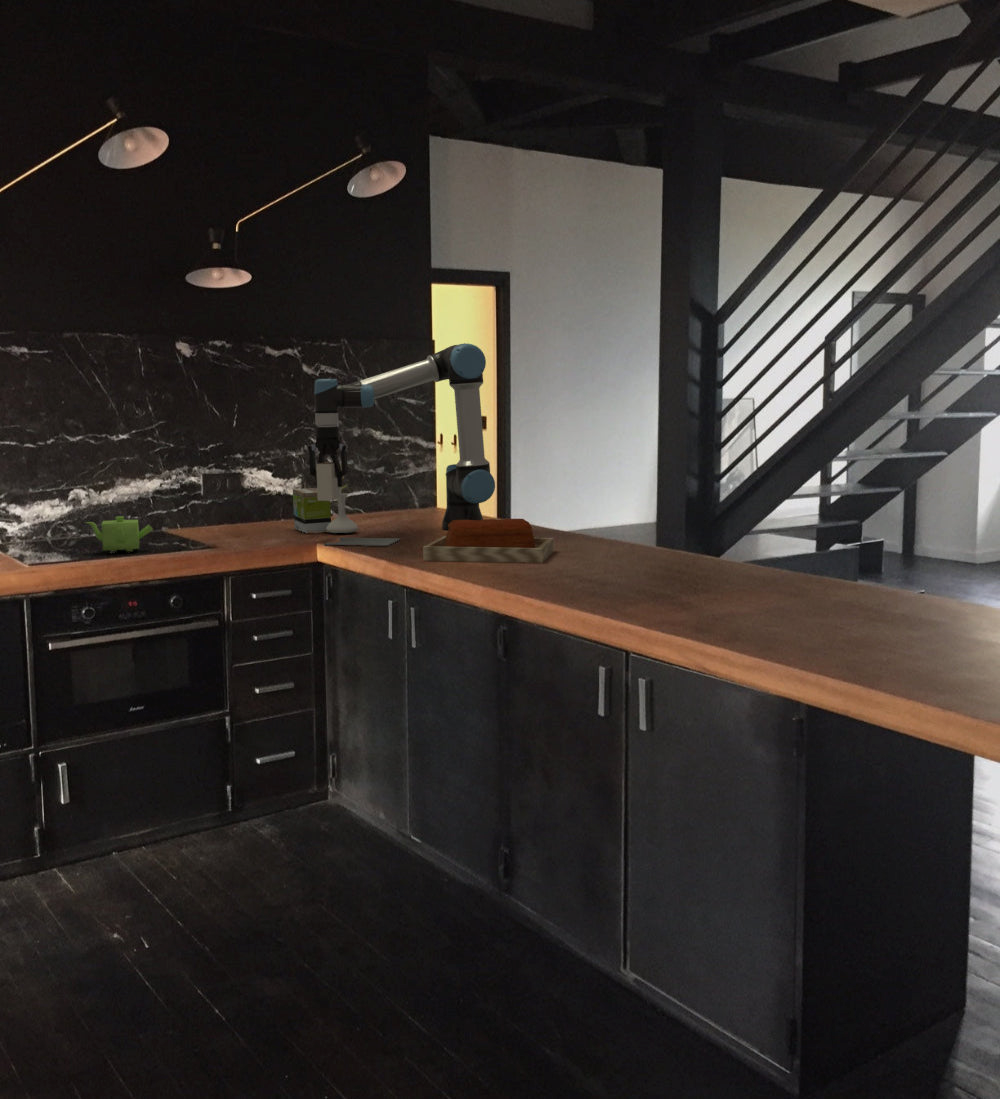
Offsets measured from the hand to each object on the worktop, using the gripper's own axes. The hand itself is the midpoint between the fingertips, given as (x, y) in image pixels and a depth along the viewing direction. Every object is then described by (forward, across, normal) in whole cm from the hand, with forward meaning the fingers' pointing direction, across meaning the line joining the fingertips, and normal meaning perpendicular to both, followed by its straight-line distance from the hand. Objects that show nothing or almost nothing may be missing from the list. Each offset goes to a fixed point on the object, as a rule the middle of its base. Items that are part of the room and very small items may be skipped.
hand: (329, 496), depth 379 cm
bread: (+15, -60, +27) cm, 68 cm away
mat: (+15, -13, +5) cm, 20 cm away
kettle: (+15, +57, +35) cm, 68 cm away
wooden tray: (+15, -60, +27) cm, 68 cm away
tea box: (+15, +16, -23) cm, 32 cm away
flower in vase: (+15, +3, -19) cm, 24 cm away
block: (+1, 0, 0) cm, 1 cm away
